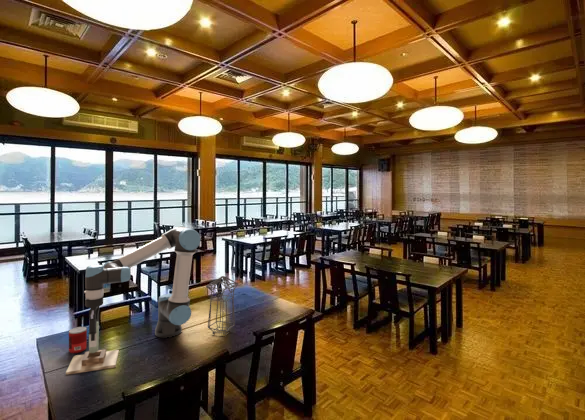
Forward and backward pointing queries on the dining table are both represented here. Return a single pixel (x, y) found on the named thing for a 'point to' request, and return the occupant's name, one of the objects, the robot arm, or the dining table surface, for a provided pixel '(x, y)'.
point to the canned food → (77, 339)
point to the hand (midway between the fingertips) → (93, 344)
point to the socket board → (104, 365)
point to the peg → (95, 349)
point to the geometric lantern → (223, 302)
